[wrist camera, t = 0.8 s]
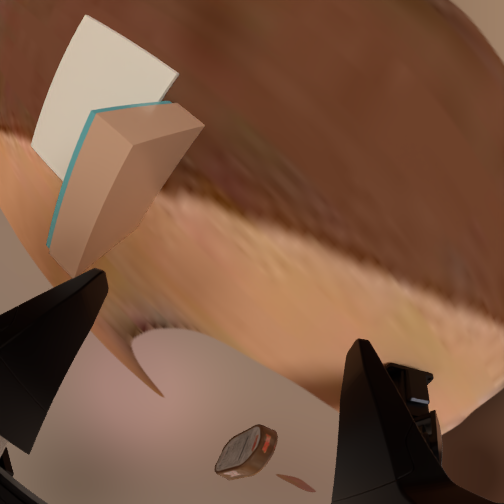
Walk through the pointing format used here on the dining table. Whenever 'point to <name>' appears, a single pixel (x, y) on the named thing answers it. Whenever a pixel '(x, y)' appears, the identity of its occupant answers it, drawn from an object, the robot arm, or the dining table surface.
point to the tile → (116, 177)
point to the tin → (247, 453)
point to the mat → (95, 87)
